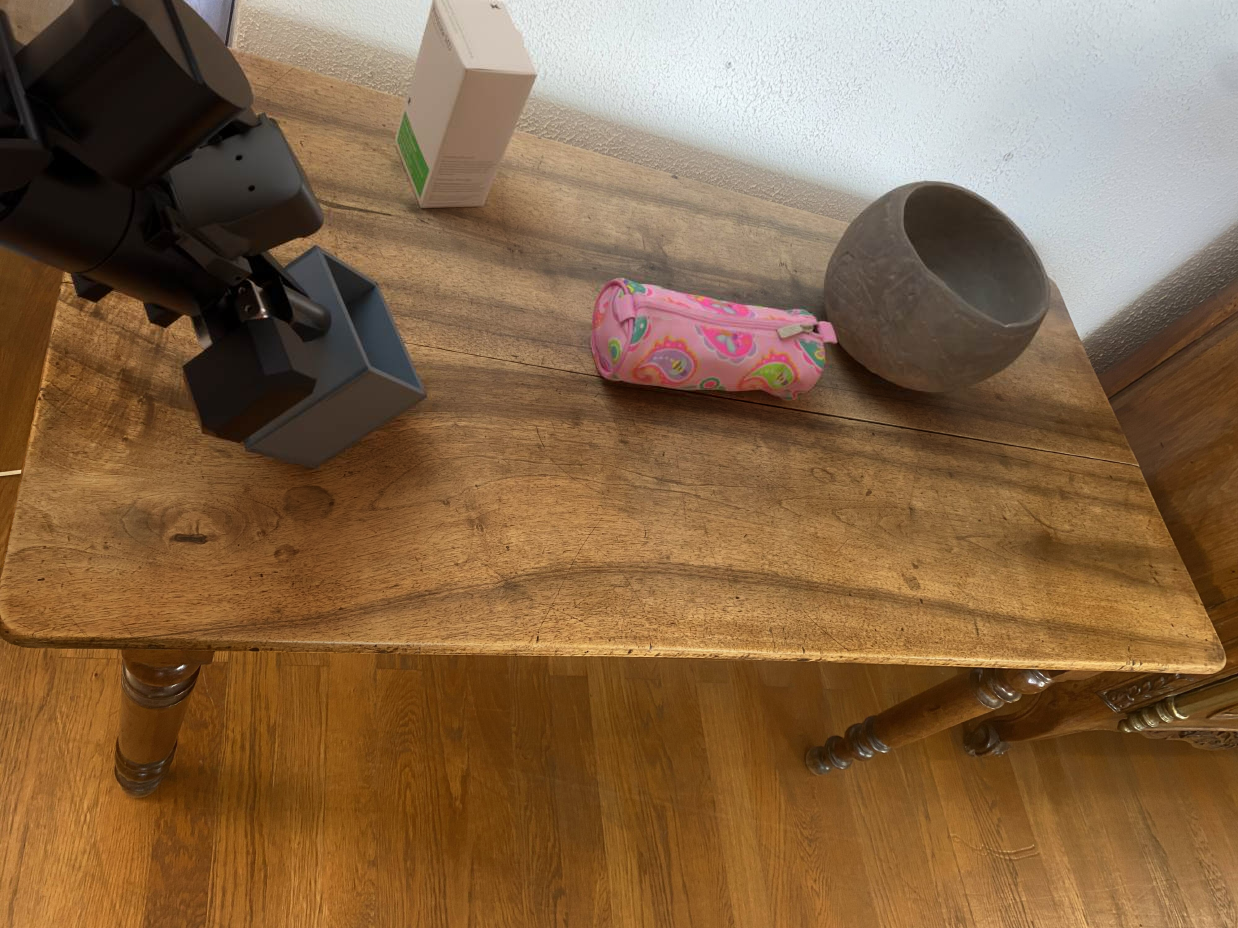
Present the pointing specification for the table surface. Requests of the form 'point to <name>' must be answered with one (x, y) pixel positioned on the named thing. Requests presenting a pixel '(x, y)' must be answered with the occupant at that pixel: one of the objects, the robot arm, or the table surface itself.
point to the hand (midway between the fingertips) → (311, 318)
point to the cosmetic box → (463, 102)
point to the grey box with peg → (341, 365)
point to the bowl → (935, 288)
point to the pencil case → (705, 342)
